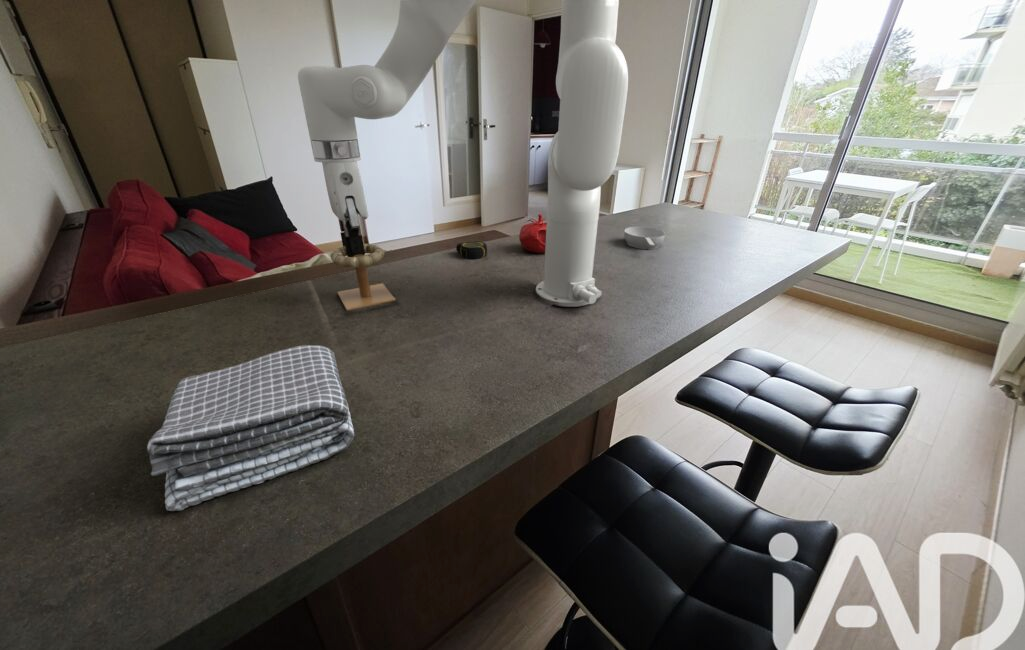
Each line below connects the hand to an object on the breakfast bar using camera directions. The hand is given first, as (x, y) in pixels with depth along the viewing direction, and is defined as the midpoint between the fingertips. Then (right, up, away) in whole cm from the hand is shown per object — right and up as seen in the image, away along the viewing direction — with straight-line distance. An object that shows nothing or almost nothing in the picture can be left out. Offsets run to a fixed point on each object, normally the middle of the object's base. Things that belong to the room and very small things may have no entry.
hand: (354, 253), depth 80 cm
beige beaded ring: (+2, -1, -3) cm, 4 cm away
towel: (+2, -27, -31) cm, 41 cm away
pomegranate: (+37, +6, +30) cm, 48 cm away
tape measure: (+20, +3, +24) cm, 32 cm away
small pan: (+66, +7, +32) cm, 74 cm away
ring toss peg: (+2, -9, +1) cm, 9 cm away
